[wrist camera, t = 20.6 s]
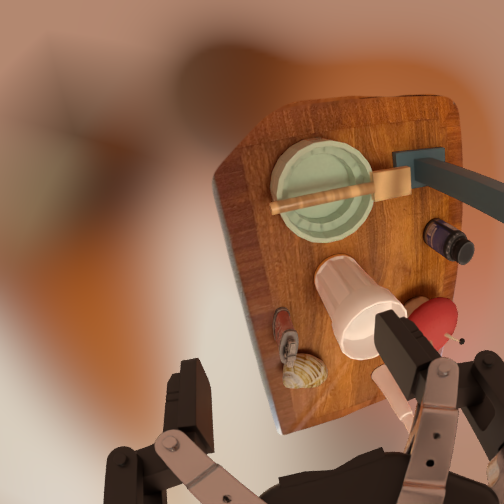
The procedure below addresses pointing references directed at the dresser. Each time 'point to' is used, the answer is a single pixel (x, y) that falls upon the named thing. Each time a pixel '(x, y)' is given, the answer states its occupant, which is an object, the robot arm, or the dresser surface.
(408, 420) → the cosmetic bottle
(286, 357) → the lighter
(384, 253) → the dresser surface
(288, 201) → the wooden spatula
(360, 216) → the bowl
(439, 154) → the headphone stand
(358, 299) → the cup
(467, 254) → the pill bottle
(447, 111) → the dresser surface
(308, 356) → the seashell
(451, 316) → the mushroom
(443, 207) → the dresser surface
